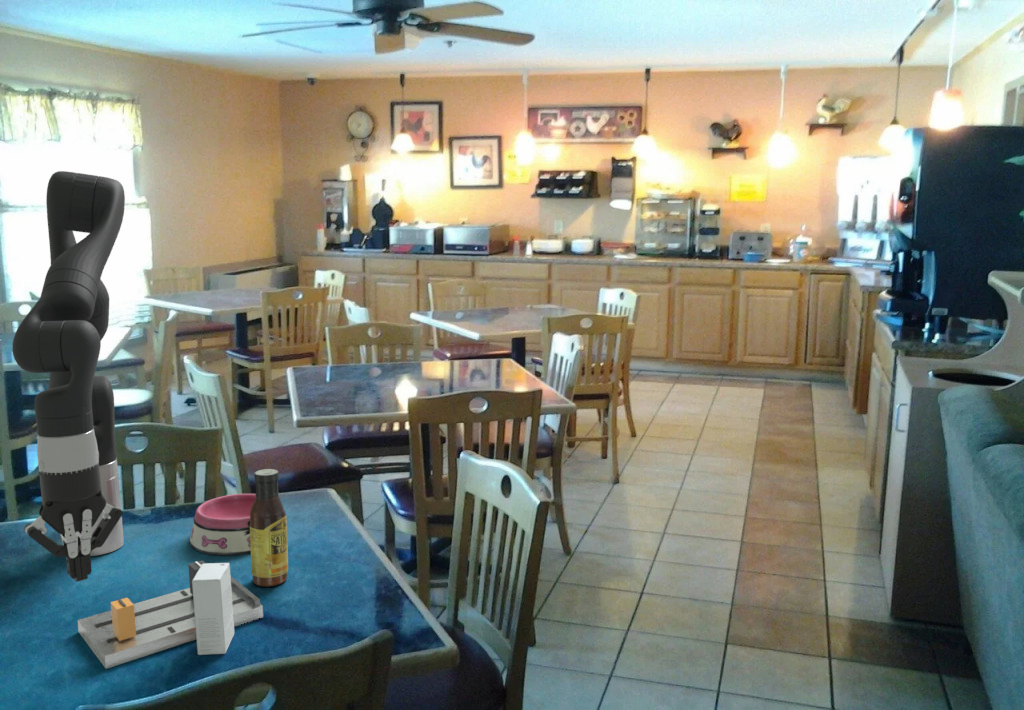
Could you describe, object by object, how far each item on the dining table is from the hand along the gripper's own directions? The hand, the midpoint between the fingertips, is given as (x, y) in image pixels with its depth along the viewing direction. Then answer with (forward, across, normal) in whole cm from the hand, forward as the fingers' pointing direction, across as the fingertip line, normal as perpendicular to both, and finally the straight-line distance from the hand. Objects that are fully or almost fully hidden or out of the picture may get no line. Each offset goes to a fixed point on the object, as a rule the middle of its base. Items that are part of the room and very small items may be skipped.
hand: (80, 578), depth 126 cm
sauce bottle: (+13, -32, -8) cm, 36 cm away
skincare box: (+13, -16, +7) cm, 22 cm away
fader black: (+11, -19, -6) cm, 23 cm away
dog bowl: (+13, -36, -31) cm, 49 cm away
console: (+13, -13, -3) cm, 19 cm away
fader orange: (+11, -5, 0) cm, 12 cm away
